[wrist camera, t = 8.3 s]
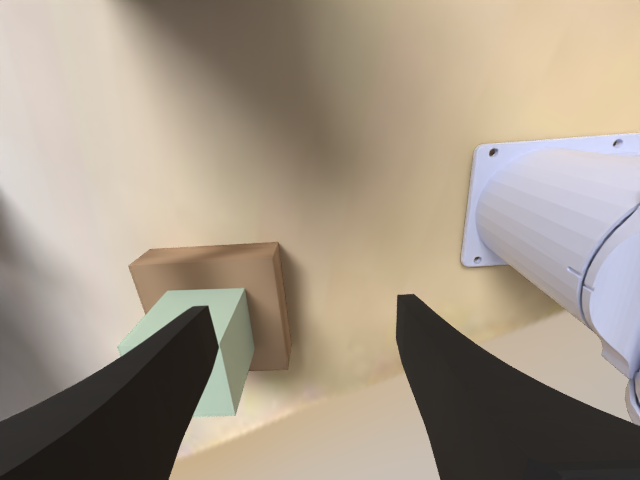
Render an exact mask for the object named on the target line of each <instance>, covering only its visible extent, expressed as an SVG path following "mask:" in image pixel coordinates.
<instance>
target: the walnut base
mask: <svg viewBox="0 0 640 480" xmlns="http://www.w3.org/2000/svg"><path fill="white" fill-rule="evenodd" d="M129 269H130V272H131V275H132V278H133V281H134V283H135V286H136V289H137V292H138V295H139V298H140V300H141V303H142V306H143V309H144V312H145V315H146V314H147V313H148V312H149V311H150V309H151V308H152V307H153V306H154V305H155V304H156V303H157V302H158V300H159V299H160V298H161V297H162V296H163V295H164V294H165V293H166V292H167V291H172V290H202V289H232V288H245V293H246V299H247V305H248V311H249V317H250V324H251V330H252V336H253V342H254V348H255V350H254V354H253V357H252V360H251V364H250V367H249V371H263V370H288V365H289V358H290V351H291V338H290V330H289V322H288V315H287V307H286V299H285V291H284V283H283V276H282V268H281V260H280V252H279V245H278V242H271V243H253V244H235V245H216V246H198V247H180V248H162V249H150V250H148V251H147V252H146V253H144V254H143V255H142V256H140V257H139V258H138V259H137V260H135V261H134V262H133V263H131V264H130V265H129Z"/></svg>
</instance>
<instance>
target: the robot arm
mask: <svg viewBox="0 0 640 480" xmlns="http://www.w3.org/2000/svg"><path fill="white" fill-rule="evenodd" d="M616 140H617V142H616V145H615V146H614V147H613V144H614V142H615V141H616ZM493 148H494V149H495V153H494V154H493V155H492V156H489V152H490V150H491V149H493ZM476 257H479V259H478V260H476V261H474V259H475V258H476ZM461 262H462V263H463V265H465V266H467V267H473V266H491V265H508V264H509V265H510V266H512V267H513V268H514V269H515V270H517V271H518V272H519V273H520V274H522V275H523V276H524V277H525V278H527V279H528V280H529V281H530V282H532V283H533V284H534V285H535V286H537V287H538V288H539V289H541V290H542V291H543V292H544V293H546V294H547V295H548V296H549V297H551V298H552V299H553V300H554V301H556V302H557V303H558V304H559V305H561V306H562V307H563V308H564V309H566V310H567V311H568V312H569V313H571V314H572V315H573V316H575V317H576V318H577V319H578V320H580V321H581V322H582V323H583V324H584V325H586V326H587V327H588V328H590V329H591V330H592V331H593V332H595V333H596V334H597V336H598V337H599V338H600V340H601V342H602V346H603V350H602V356H603V357H604V358H605V359H606V360H607V361H608V362H610V363H611V364H612V365H613V366H614V367H615V368H617V369H618V370H619V371H620V372H621V373H622V374H624V375H625V376H626V377H627V378H628V379H630V380H629V382H628V384H627V387H626V395H625V401H626V405H627V410H628V413H629V415H630V417H631V419H632V421H633V423H631V422H629V421H626V420H623V419H621V418H618V417H616V416H613V415H611V414H609V413H606V412H603V411H601V410H599V409H596V408H594V407H592V406H590V405H587V404H585V403H583V402H581V401H578V400H576V399H574V398H572V397H570V396H567V395H565V394H563V393H561V392H559V391H557V390H555V389H553V388H551V387H549V386H547V385H545V384H543V383H541V382H539V381H537V380H535V379H534V378H532V377H530V376H528V375H526V374H524V373H522V372H520V371H519V370H517V369H515V368H513V367H512V366H510V365H508V364H506V363H505V362H503V361H501V360H500V359H498V358H497V357H495V356H494V355H492V354H490V353H489V352H487V351H486V350H484V349H483V348H481V347H480V346H478V345H477V344H475V343H474V342H473V341H471V340H470V339H468V338H467V337H466V336H464V335H463V334H461V333H460V332H459V331H458V330H456V329H455V328H454V327H452V326H451V325H450V324H449V323H447V322H446V321H445V320H444V319H442V318H441V317H440V316H439V315H438V314H436V313H435V312H434V311H433V310H432V309H431V308H429V307H428V306H427V305H426V304H425V303H424V302H423V301H421V300H420V299H419V298H418V297H417V296H416V295H414V294H407V295H397V324H396V341H397V345H398V349H399V354H400V358H401V362H402V365H403V368H404V371H405V373H406V376H407V379H408V381H409V384H410V387H411V389H412V392H413V395H414V397H415V400H416V403H417V405H418V408H419V410H420V413H421V416H422V418H423V421H424V424H425V427H426V430H427V433H428V436H429V440H430V443H431V447H432V450H433V454H434V458H435V461H436V465H437V468H438V472H439V476H440V480H640V133H626V134H613V135H599V136H585V137H572V138H558V139H545V140H531V141H517V142H504V143H490V144H481V145H479V146H478V147H476V149H475V150H474V154H473V162H472V170H471V178H470V186H469V194H468V203H467V211H466V219H465V227H464V235H463V243H462V251H461ZM218 350H219V345H218V341H217V337H216V333H215V329H214V326H213V322H212V318H211V314H210V310H209V306H208V305H206V306H192V307H191V308H189V309H187V310H186V311H185V312H183V313H182V314H180V315H179V316H177V317H176V318H175V319H173V320H172V321H171V322H169V323H168V324H167V325H165V326H164V327H162V328H161V329H160V330H158V331H157V332H156V333H154V334H153V335H152V336H150V337H149V338H147V339H146V340H145V341H143V342H142V343H140V344H139V345H137V346H136V347H134V348H133V349H131V350H130V351H129V352H127V353H126V354H124V355H123V356H121V357H120V358H118V359H117V360H115V361H114V362H112V363H111V364H109V365H107V366H106V367H104V368H103V369H101V370H99V371H98V372H96V373H94V374H92V375H91V376H89V377H87V378H86V379H84V380H82V381H81V382H79V383H77V384H75V385H73V386H71V387H70V388H68V389H66V390H64V391H62V392H60V393H58V394H56V395H54V396H52V397H50V398H49V399H47V400H45V401H43V402H41V403H39V404H37V405H35V406H33V407H31V408H29V409H27V410H25V411H23V412H20V413H18V414H16V415H14V416H12V417H10V418H8V419H5V420H3V421H1V422H0V480H169V477H170V474H171V471H172V468H173V465H174V462H175V459H176V456H177V453H178V450H179V447H180V445H181V442H182V440H183V437H184V435H185V432H186V430H187V428H188V425H189V423H190V421H191V419H192V416H193V414H194V412H195V410H196V407H197V405H198V403H199V401H200V399H201V396H202V394H203V392H204V389H205V387H206V385H207V383H208V380H209V378H210V376H211V373H212V370H213V367H214V364H215V361H216V357H217V353H218Z"/></svg>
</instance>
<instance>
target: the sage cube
mask: <svg viewBox="0 0 640 480" xmlns="http://www.w3.org/2000/svg"><path fill="white" fill-rule="evenodd" d="M206 305H208V306H209V310H210V314H211V318H212V322H213V326H214V329H215V333H216V337H217V341H218V345H219V350H218V353H217V357H216V361H215V364H214V367H213V370H212V373H211V376H210V378H209V380H208V383H207V385H206V387H205V389H204V392H203V394H202V396H201V399H200V401H199V403H198V405H197V407H196V410H195V412H194V414H193V416H192V417H206V416H235V415H236V412H237V408H238V405H239V402H240V398H241V395H242V391H243V388H244V384H245V381H246V378H247V374H248V371H249V367H250V364H251V360H252V357H253V354H254V350H255V348H254V342H253V336H252V330H251V324H250V317H249V311H248V305H247V299H246V293H245V288H232V289H202V290H172V291H167V292H166V293H165V294H164V295H163V296H162V297H161V298H160V299H159V300H158V302H157V303H156V304H155V305H154V306H153V307H152V308H151V309H150V311H149V312H148V313H147V314H146V315H145V316H144V317H143V318H142V319H141V321H140V322H139V323H138V324H137V325H136V326H135V327H134V328H133V329H132V331H131V332H130V333H129V334H128V335H127V336H126V337H125V338H124V340H123V341H122V342H121V343H120V344H119V345H118V346H117V347H118V350H119V352H120V355H121V356H123V355H124V354H126V353H127V352H129V351H130V350H131V349H133V348H134V347H136V346H137V345H139V344H140V343H142V342H143V341H145V340H146V339H147V338H149V337H150V336H152V335H153V334H154V333H156V332H157V331H158V330H160V329H161V328H162V327H164V326H165V325H167V324H168V323H169V322H171V321H172V320H173V319H175V318H176V317H177V316H179V315H180V314H182V313H183V312H185V311H186V310H187V309H189V308H191V307H192V306H206Z"/></svg>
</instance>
